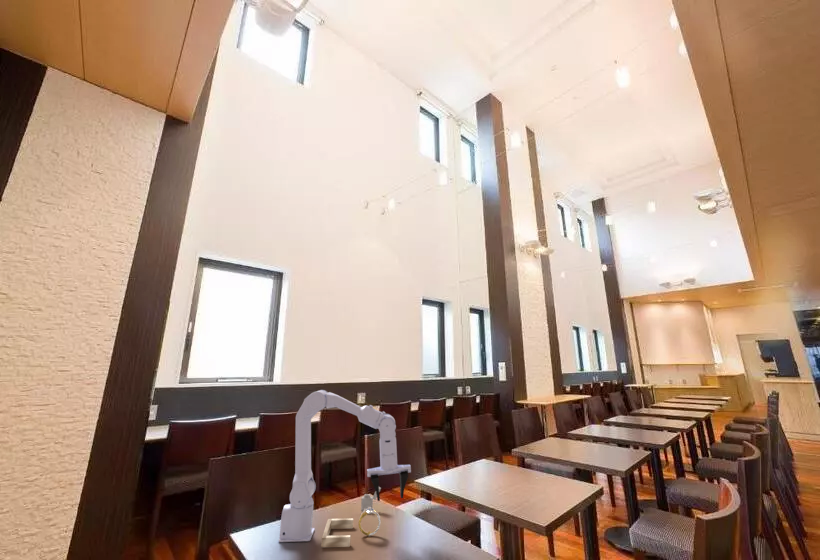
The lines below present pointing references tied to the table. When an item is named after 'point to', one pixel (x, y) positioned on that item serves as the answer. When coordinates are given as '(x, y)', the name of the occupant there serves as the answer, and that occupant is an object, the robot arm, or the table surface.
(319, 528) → the table surface
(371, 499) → the lighter
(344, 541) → the keeper
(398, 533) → the table surface
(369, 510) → the ring
